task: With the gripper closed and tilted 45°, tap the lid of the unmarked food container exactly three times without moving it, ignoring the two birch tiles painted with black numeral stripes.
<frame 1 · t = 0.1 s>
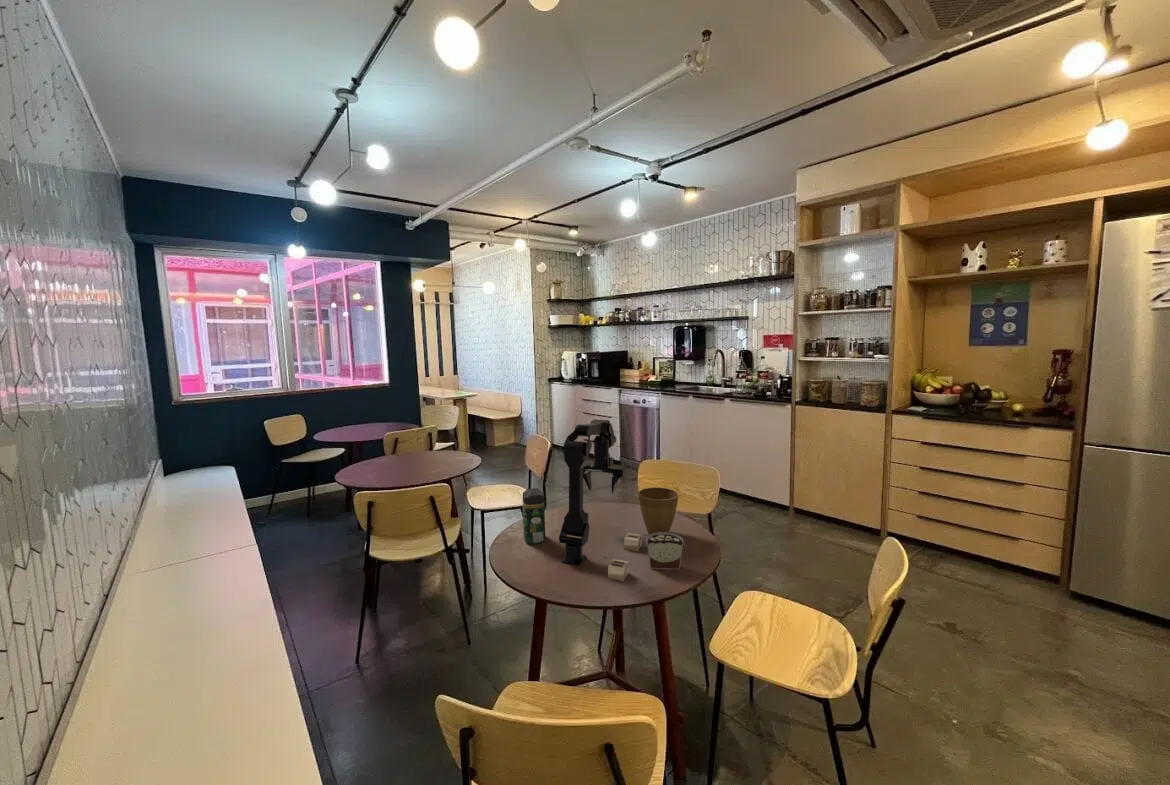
hand: (601, 491, 182), 15 cm above the table, tool pointing down, fingers open, 9 cm apart
coffee jar: (534, 539, 174), on the table
numbered tile one: (632, 547, 167), on the table
plant pot: (658, 534, 178), on the table
numbered tile two: (618, 576, 147), on the table
food container: (664, 565, 154), on the table
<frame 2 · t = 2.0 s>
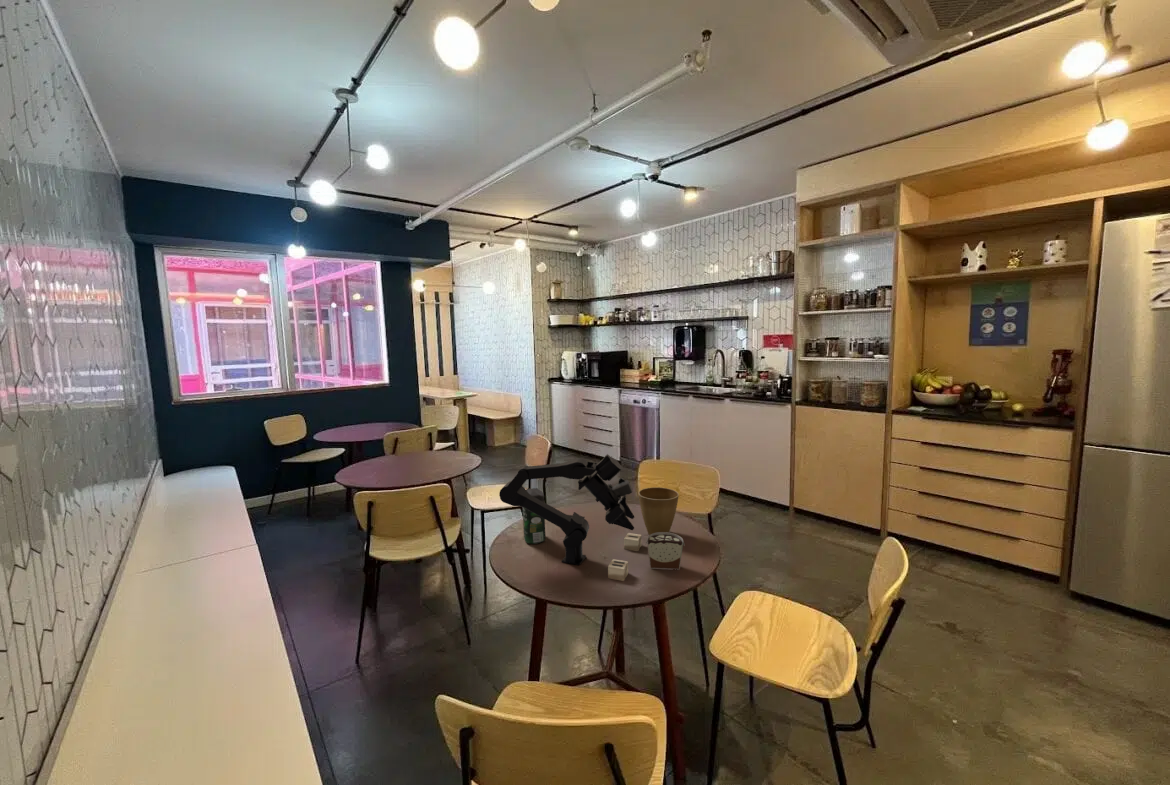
hand: (633, 523, 154), 13 cm above the table, tool tilted 45°, fingers open, 9 cm apart
nothing on the table moved.
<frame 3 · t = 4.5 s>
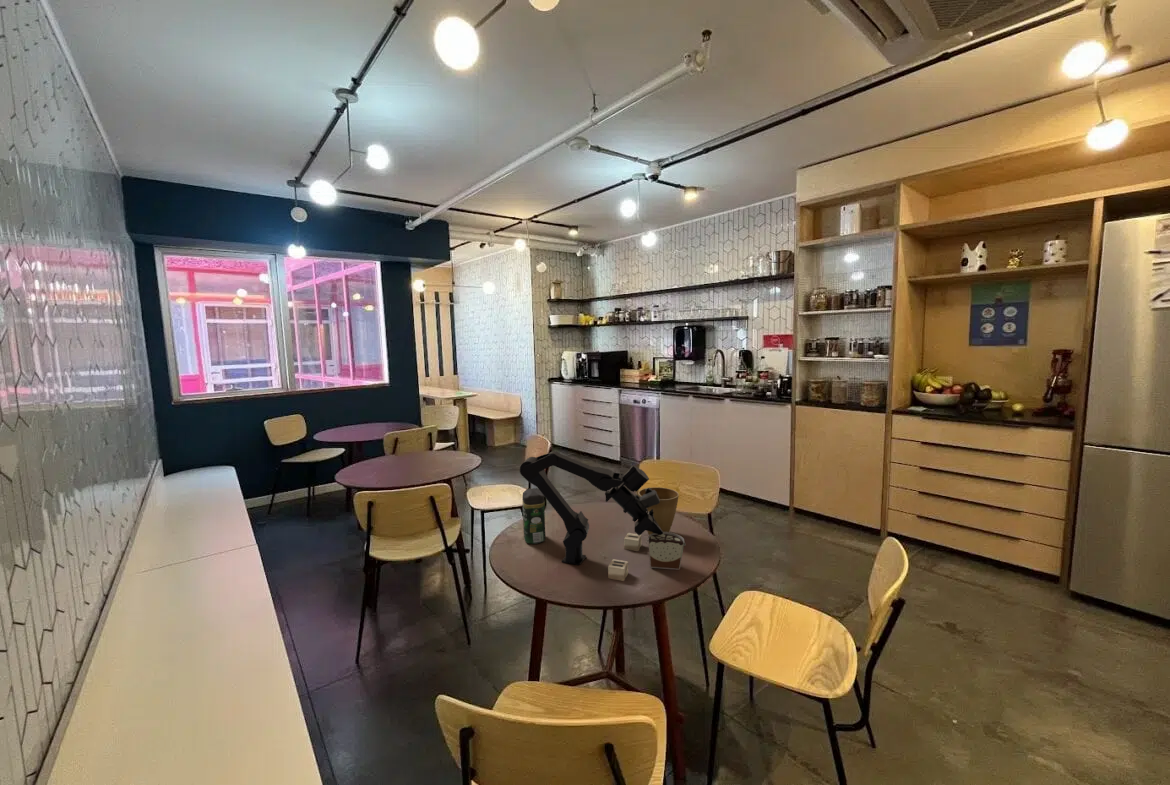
hand: (662, 533, 153), 10 cm above the table, tool tilted 45°, fingers closed, pressing on food container
food container: (664, 564, 154), on the table, touching gripper
everything else where it was.
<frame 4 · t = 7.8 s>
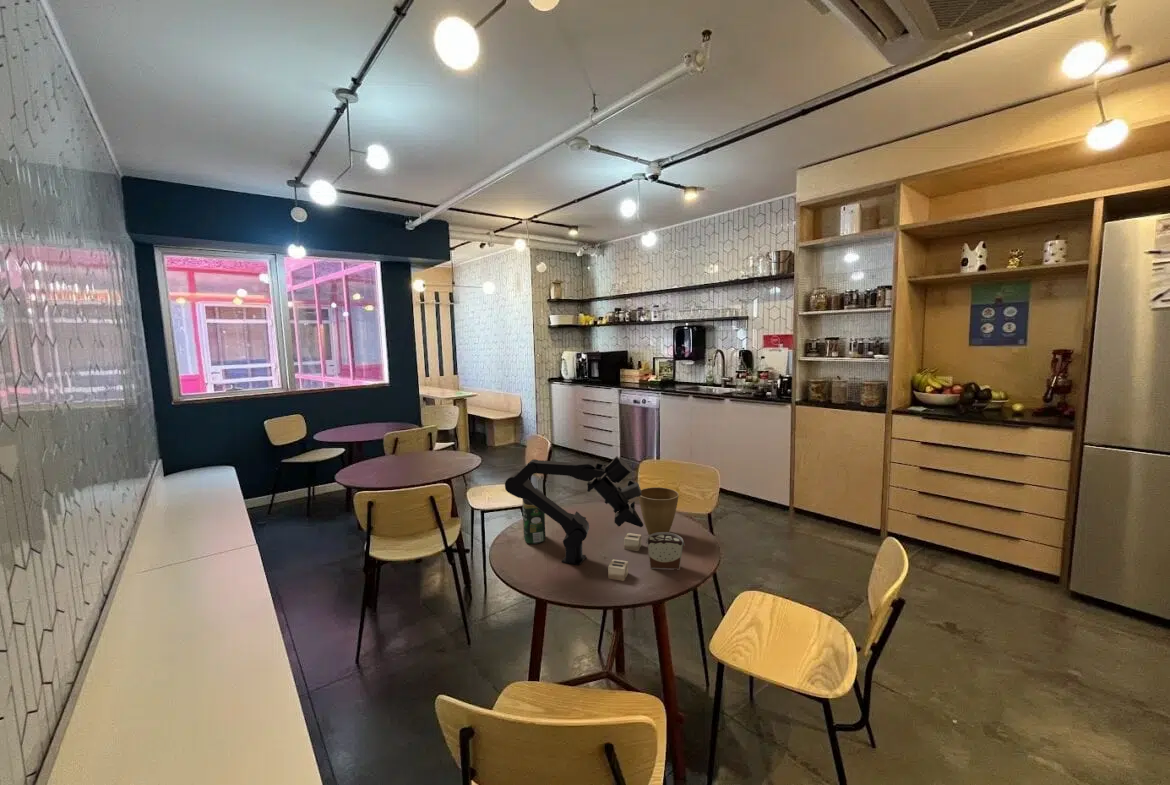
hand: (642, 526, 153), 13 cm above the table, tool tilted 45°, fingers closed
food container: (664, 565, 154), on the table
everything else where it was.
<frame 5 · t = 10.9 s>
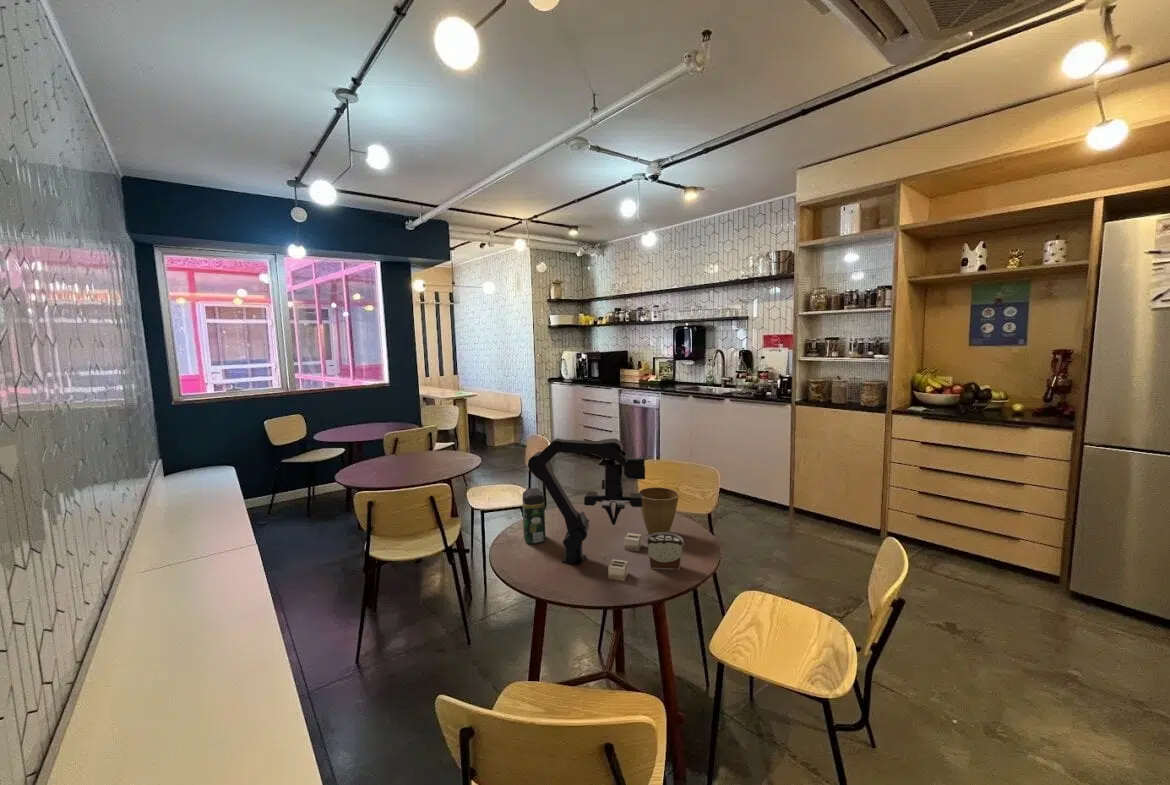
hand: (613, 524, 154), 13 cm above the table, tool pointing down, fingers closed
nothing on the table moved.
at the end: food container moved 0.2 cm from its start; food container tilted 0°; the gripper is holding nothing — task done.
